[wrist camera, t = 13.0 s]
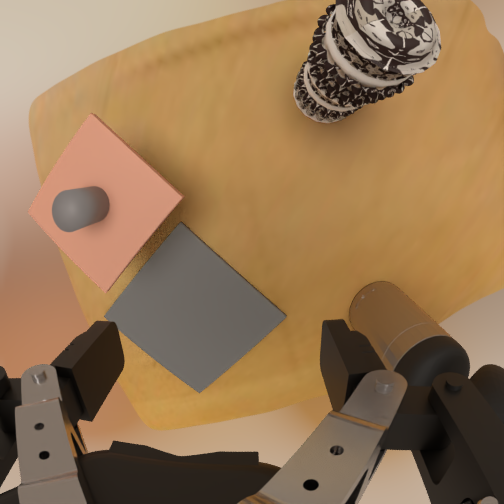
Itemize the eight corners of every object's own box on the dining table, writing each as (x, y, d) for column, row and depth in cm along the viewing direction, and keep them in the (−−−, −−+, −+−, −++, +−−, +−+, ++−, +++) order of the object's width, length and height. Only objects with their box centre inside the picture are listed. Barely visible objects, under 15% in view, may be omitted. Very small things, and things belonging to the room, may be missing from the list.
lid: (184, 196, 29) (168, 203, 23) (109, 289, 32) (84, 312, 26) (95, 114, 27) (64, 105, 21) (32, 210, 29) (-1, 219, 24)
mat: (286, 315, 46) (286, 316, 46) (200, 391, 50) (199, 393, 49) (181, 221, 43) (180, 222, 42) (105, 315, 47) (103, 316, 46)
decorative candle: (311, 137, 40) (384, 96, 16) (277, 79, 38) (304, -22, 14) (367, 111, 39) (478, 61, 15) (334, 54, 37) (408, -42, 13)
